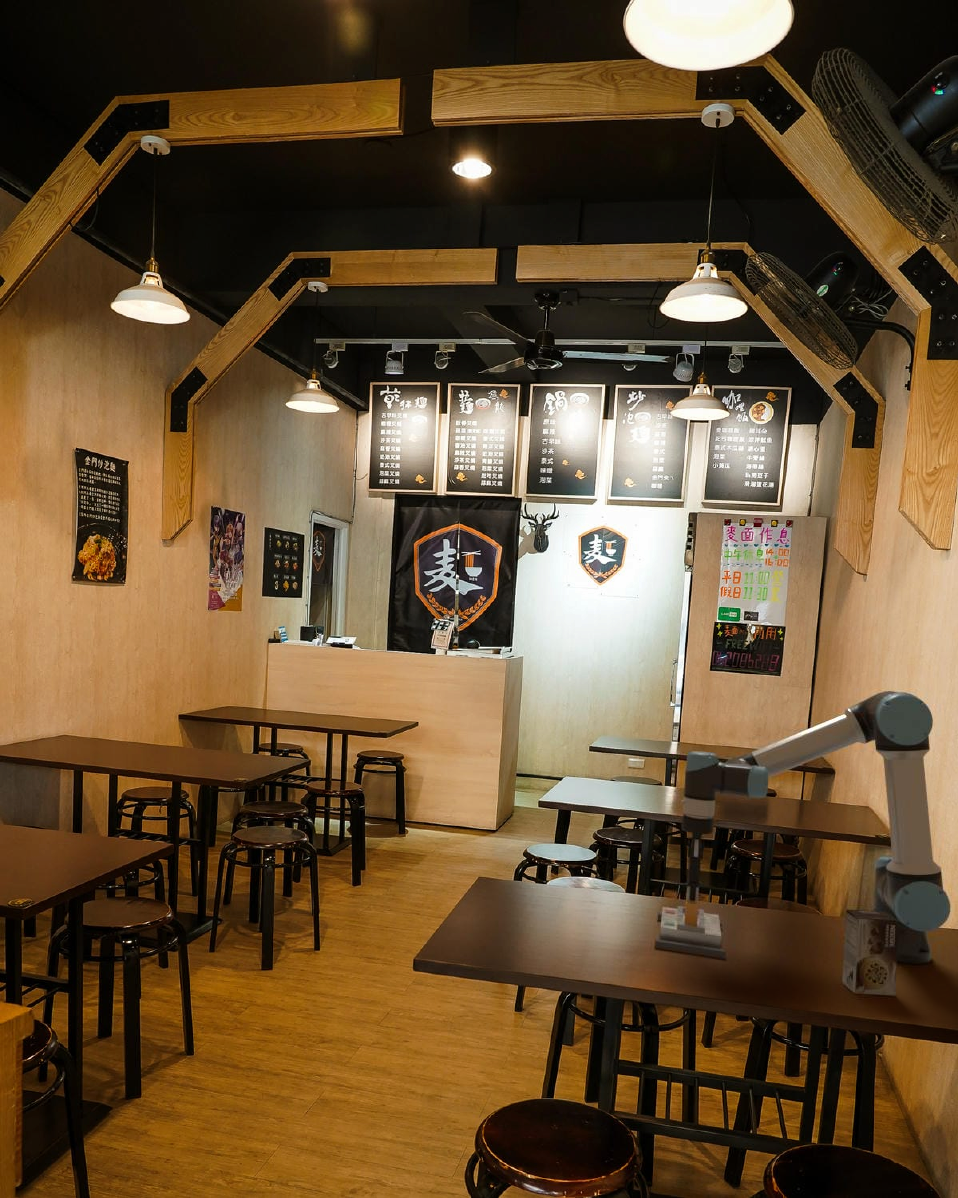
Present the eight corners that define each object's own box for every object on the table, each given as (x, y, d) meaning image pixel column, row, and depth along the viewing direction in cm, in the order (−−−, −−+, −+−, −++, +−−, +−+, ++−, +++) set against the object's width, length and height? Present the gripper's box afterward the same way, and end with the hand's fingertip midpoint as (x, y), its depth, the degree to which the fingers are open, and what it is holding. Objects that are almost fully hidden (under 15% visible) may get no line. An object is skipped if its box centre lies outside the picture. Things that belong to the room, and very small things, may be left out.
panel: (717, 931, 226) (718, 911, 227) (720, 953, 209) (721, 932, 209) (661, 922, 230) (662, 903, 230) (659, 944, 212) (660, 923, 212)
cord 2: (724, 956, 207) (725, 949, 207) (725, 959, 206) (725, 952, 206) (654, 945, 211) (655, 939, 211) (654, 948, 209) (655, 941, 209)
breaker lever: (697, 923, 217) (698, 902, 217) (697, 926, 215) (698, 904, 215) (684, 921, 217) (685, 900, 218) (684, 924, 215) (685, 903, 216)
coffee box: (881, 985, 197) (885, 911, 198) (896, 997, 191) (900, 920, 191) (840, 982, 197) (845, 908, 197) (854, 994, 190) (859, 917, 191)
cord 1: (721, 928, 229) (721, 922, 229) (721, 930, 227) (721, 923, 227) (657, 919, 233) (658, 912, 233) (657, 920, 231) (657, 914, 231)
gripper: (682, 809, 226) (675, 903, 225) (682, 818, 214) (675, 918, 212) (713, 813, 225) (706, 908, 223) (714, 822, 212) (707, 923, 211)
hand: (691, 912), depth 218 cm, fingers closed
